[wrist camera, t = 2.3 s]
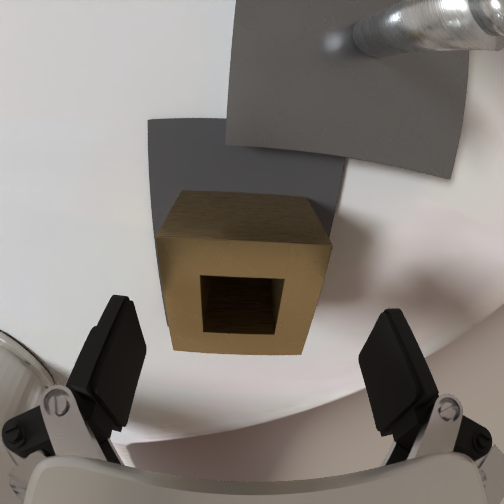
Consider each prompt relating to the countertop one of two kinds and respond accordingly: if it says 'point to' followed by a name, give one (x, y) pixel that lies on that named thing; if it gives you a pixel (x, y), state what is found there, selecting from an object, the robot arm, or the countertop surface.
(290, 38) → the grey peg stand
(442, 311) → the countertop surface
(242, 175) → the mat
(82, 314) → the countertop surface
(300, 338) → the collar
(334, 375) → the countertop surface
